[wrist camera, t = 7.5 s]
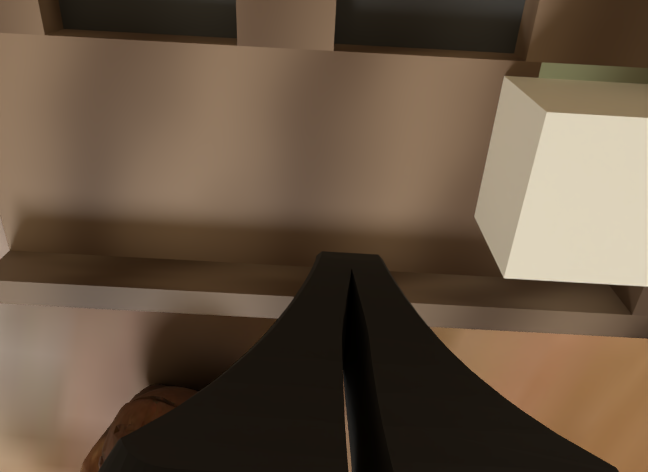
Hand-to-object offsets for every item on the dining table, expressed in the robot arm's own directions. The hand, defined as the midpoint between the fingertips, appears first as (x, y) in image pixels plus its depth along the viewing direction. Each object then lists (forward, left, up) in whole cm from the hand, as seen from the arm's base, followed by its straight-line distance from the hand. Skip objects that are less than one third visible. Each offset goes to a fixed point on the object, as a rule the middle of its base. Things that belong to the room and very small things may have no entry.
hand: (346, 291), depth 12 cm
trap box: (+2, -1, -9) cm, 10 cm away
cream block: (-7, -1, -8) cm, 11 cm away
